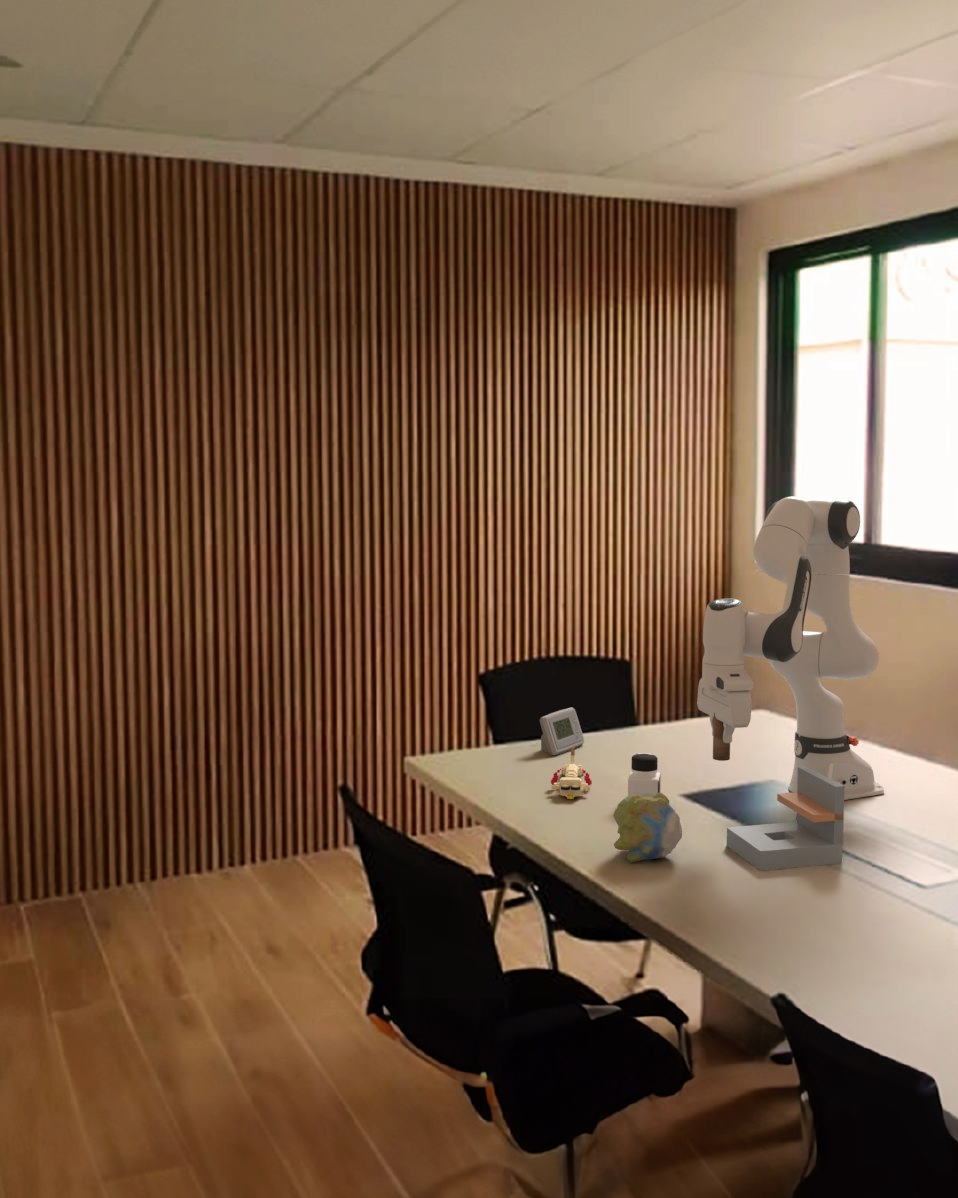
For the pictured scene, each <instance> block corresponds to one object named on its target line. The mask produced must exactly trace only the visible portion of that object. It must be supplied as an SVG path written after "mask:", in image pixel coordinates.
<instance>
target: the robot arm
mask: <svg viewBox="0 0 958 1198" xmlns="http://www.w3.org/2000/svg"><path fill="white" fill-rule="evenodd" d="M764 519H765V520H764V521H763V523H762V525H761V528H760V530H759V532H758V534H757V536H756V538H755V541H754V542H755V543H754V546H753V550H752V551H753V557H754V560H755V562H756V565H758V567H759V568H760V570H761V571H763V572H764V573H765V574H766V575H767V576H769V577H771V578H772V579H775V580H777V581H780V582H782V583H783V584H785V585H786V590H785V596H784V601H783V605H782V609H781V610H780V611H779V612H775V613H767V612H765V613H763V612H753V611H748V610H746V609H745V608H744V604H743V602H742V601H741V600H740V599H736V598H731V597H730V598H729V597H727V598H725V597H724V598H717V599H714V600H712V601H711V602H709V603H708V604H707V605H706V609H705V613H704V617H703V618H704V619H703V627H702V628H703V631H702V643H703V647H704V653H703V657H702V667H701V668H702V671H701V672H702V674H701V675H702V676H701V678H700V679H699V682H698V687H697V701H696V705H697V708H698V710H699V711H701V712H702V713H703V714H704V713H705V714H706V715H708V716H709V722H710V727H711V730H712V731H711V735H712V737H713V720H714V713H715V717H716V719H718V720H720V721H722V722H723V727H724V732H723V734H722V741H723V742H725V743H730V744H731V743H732V742H733V734H734V731H735V729H736V728H740V729H742V728H748V726H749V725H750V723H751V719H752V704H753V703H752V702H753V701H752V693H751V691H754V684H755V683H754V681H753V679H752V678H751V676H750V675H749V674H748V672H747V669H745V667H746V665H745V664H746V659H745V657H750V658H759V659H760V658H761V659H767V660H768V662H769V664H770V666H771V668H772V669H773V670H774V671H775V672H776V673H777V674H779V675H780V676H781V677H782V678H783V679H784V680H785V681H786V683H787V684H788V686H789V687H790V690H791V692H792V694H793V697H794V701H795V706H796V709H795V710H796V731H795V733H794V745H793V746H794V749H793V750H794V751H793V752H794V756H795V757H794V764H793V770H792V774H791V779H790V782H789V785H788V788H787V789H788V790H789V791H790V793H792V792H797V779H798V767H804V766H807V767H809V768H811V769H813V770H814V771H816V772H818V773H820V774H822V775H824V776H826V777H828V778H830V779H832V780H834V781H836V782H841V783H842V785H843V786H845V789H844V801H845V800H846V801H847V800H851V799H853V800H854V799H859V798H864V797H871V796H872V797H873V796H877V795H878V796H879V795H883V794H884V793H885V790H884V787H883V786H882V785H881V784H880V783H877V782H876V781H875V775H874V770H873V768H872V766H871V765H870V764H869V763H868V762H867V761H866V760H865V759H863V758H862V757H861V756H859V754H857V752H855V751H854V750H852V749H851V746H850V745H852V746H853V747H857V746H858V744H860V740H859V738H858V737H855V736H852V735H851V736H850V735H847V734H846V733H845V714H846V712H845V708H846V707H845V705H844V702H843V700H842V698H840V697H839V696H837V695H836V694H835V693H833V692H831V691H829V690H828V689H826V688H825V687H823V684H822V683H821V681H820V679H821V678H825V679H836V680H837V679H838V680H839V679H840V680H854V679H855V680H856V679H864V678H868V677H870V676H871V675H872V674H873V673H874V672H875V670H876V669H877V667H878V664H879V660H880V659H879V658H880V655H879V649H878V646H877V645H876V643H875V641H873V639H872V638H871V637H870V636H868V635H867V634H866V633H865V632H864V631H863V630H862V629H861V628H860V626H859V625H858V624H857V622H856V620H855V618H854V616H853V613H852V609H851V603H850V602H851V601H850V600H851V599H850V573H851V570H850V568H851V565H850V564H851V563H850V560H851V559H850V551H849V545H850V544H851V543H852V542H853V541H854V540H855V539H856V537H857V535H858V533H859V532H860V531H859V530H860V527H861V526H860V525H861V515H860V511H859V509H858V507H857V505H855V503H854V502H853V501H852V500H849V499H846V498H845V499H844V498H836V499H835V498H828V497H810V498H800V497H796V496H785V497H783V498H781V499H780V500H778V501H775V502H774V503H772V504H771V506H770V507H769V508H768V509H767V512H766V514H765V518H764ZM806 612H807V613H808V614H810V615H812V616H813V617H815V618H817V619H819V620H820V621H822V622H823V623H824V625H825V631H813V630H812V631H809V630H804V623H805V618H806V614H807V613H806Z"/></svg>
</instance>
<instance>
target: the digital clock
mask: <svg viewBox="0 0 958 1198" xmlns="http://www.w3.org/2000/svg"><path fill="white" fill-rule="evenodd" d="M539 724H540V727H541V731H542V734H541V737H540V744H541V745H540V751H541V752H546V753H549V755H551V756H557V755H562V754H564V753H567V752H569V751H570V752H571V747H575V749H577V748H578V747H581V746H583V745H584V743H585V739H584V735H583V731H582V728H581V725H580V721H579V718H578V715H577V711H576V709H575V708H574V707H572V706H571V707H568V708H563V709H559V710H557V711H554V712H550V713H548V714H546V715H544V716H541V717H540V718H539Z"/></svg>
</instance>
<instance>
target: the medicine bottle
mask: <svg viewBox="0 0 958 1198" xmlns="http://www.w3.org/2000/svg"><path fill="white" fill-rule="evenodd" d="M661 776H662V775H661V772H659V771H658V757H657V755H655V754H653V753H649V752H641V753H640V752H639V753H636V754H633V755H632V756H631V771H630V772H629V775H628V779H627V796H629V795H633V794H637V793H641V794H653V795H655V794H656V793H661V778H662V777H661Z"/></svg>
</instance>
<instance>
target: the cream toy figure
mask: <svg viewBox="0 0 958 1198" xmlns="http://www.w3.org/2000/svg"><path fill="white" fill-rule="evenodd" d="M575 749H576V748H575V747H571V750H570V763H569V764H564V765H563V767H561V768H559V769H557V771H555V772H554V773H553V776H552V778H551V779H550V784H551V787H550V789H551V790H553V791H557V790H559V791H557V795H560V796H561V797H566V798H567V800H572V799H573V800H574V798H575V797H581V796H584V795H585V792H588V791H591V785H592V784H593V780H592V779H591V778H590V773H589V772H586V770H585V769H584V768H583V765H582V764H576V763H575V759H576V756H575V755H576V751H575ZM559 773H561V774H562V775H563V776H564V777H561V778H560V777H559V775H558V774H559ZM584 774H585V775H584ZM582 775H584V777H583V779H584V781H585V782H582V781H583V780H582V778H581V776H582ZM579 776H580V777H579ZM559 778H560V779H559ZM558 781H559V782H558ZM582 791H585V792H582Z"/></svg>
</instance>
